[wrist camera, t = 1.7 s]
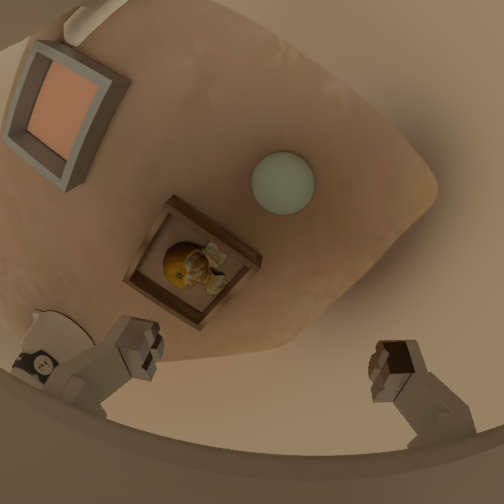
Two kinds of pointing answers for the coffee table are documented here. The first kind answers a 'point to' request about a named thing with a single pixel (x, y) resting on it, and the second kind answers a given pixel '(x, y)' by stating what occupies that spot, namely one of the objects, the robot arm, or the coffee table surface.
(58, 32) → the coffee table surface
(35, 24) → the heart sculpture
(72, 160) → the grey square tray
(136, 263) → the fruit tray
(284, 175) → the ball
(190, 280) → the fruit
